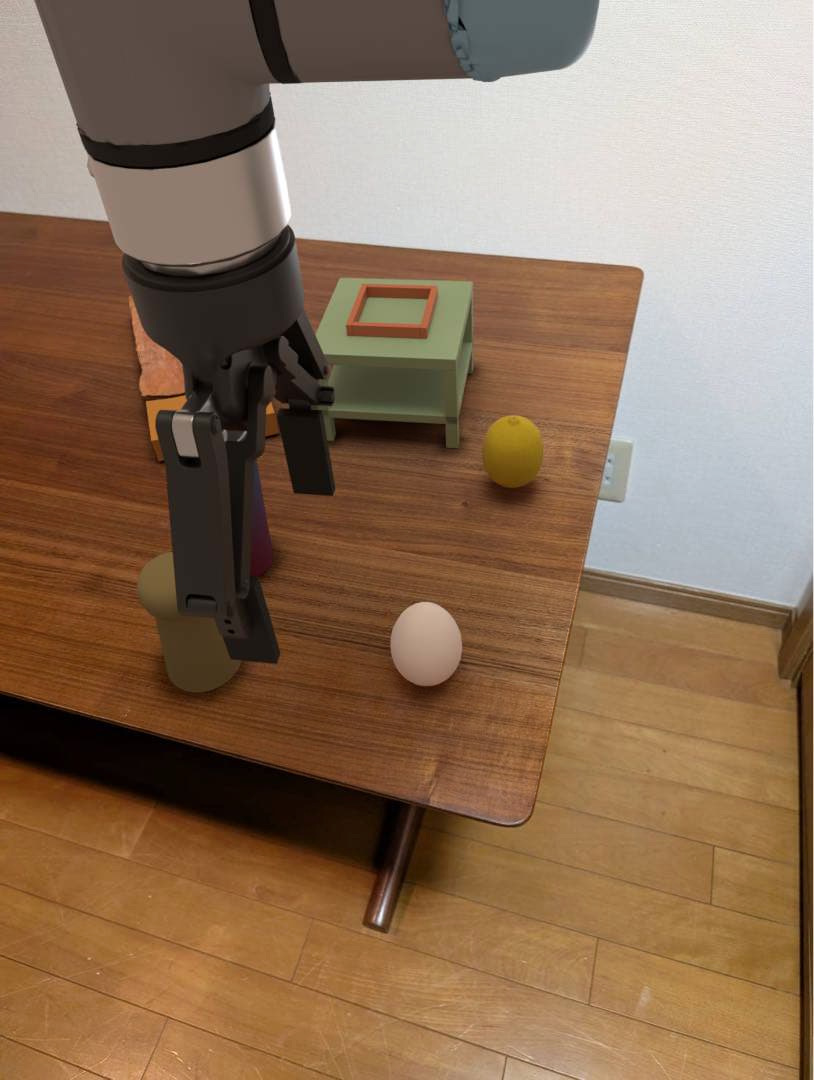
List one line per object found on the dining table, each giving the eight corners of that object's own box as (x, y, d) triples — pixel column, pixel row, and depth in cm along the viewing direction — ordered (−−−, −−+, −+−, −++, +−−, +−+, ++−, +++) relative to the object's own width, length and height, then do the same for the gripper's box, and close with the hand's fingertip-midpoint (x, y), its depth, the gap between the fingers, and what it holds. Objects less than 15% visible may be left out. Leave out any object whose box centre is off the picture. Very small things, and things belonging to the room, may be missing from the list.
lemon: (477, 501, 78) (477, 434, 72) (487, 463, 81) (488, 396, 75) (536, 508, 76) (541, 441, 71) (544, 469, 80) (549, 401, 74)
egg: (456, 707, 62) (454, 646, 57) (387, 697, 63) (378, 636, 58) (467, 650, 66) (466, 587, 60) (401, 641, 67) (394, 579, 61)
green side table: (473, 367, 92) (472, 270, 84) (457, 448, 83) (455, 348, 75) (350, 362, 95) (338, 266, 86) (322, 440, 85) (305, 342, 77)
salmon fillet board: (154, 464, 84) (145, 439, 82) (134, 317, 104) (126, 293, 102) (281, 435, 86) (275, 409, 84) (237, 296, 106) (231, 272, 104)
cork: (192, 622, 70) (155, 531, 62) (255, 641, 68) (226, 549, 60) (152, 680, 66) (107, 590, 58) (218, 701, 64) (181, 611, 56)
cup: (235, 601, 71) (191, 469, 60) (192, 560, 75) (144, 428, 64) (298, 559, 74) (267, 426, 63) (254, 521, 77) (218, 389, 67)
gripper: (216, 125, 45) (283, 434, 60) (-23, 407, 28) (154, 737, 43) (352, 124, 44) (385, 440, 59) (187, 419, 27) (294, 755, 42)
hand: (287, 566), depth 51 cm, fingers open, 13 cm apart
